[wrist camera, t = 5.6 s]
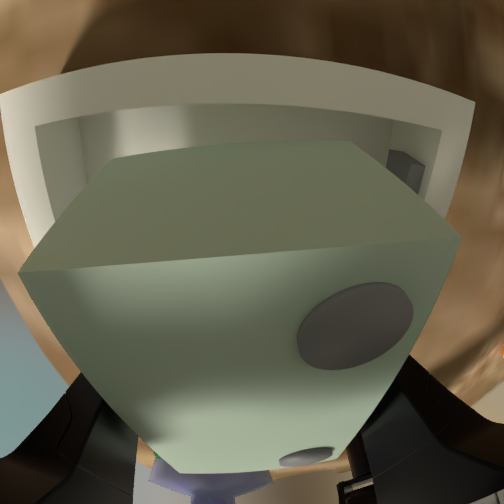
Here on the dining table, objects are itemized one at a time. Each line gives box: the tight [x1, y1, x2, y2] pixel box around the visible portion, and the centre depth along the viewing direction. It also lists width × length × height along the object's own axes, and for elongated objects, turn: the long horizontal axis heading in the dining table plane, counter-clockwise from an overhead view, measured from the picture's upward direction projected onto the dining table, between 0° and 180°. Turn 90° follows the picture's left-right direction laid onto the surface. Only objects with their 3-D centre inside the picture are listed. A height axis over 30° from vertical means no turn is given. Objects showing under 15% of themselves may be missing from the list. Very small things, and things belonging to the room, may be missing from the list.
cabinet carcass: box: [0, 53, 475, 248], centre depth 11 cm, size 14×13×4 cm
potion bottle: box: [149, 451, 274, 504], centre depth 16 cm, size 9×9×12 cm
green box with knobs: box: [18, 140, 462, 474], centre depth 8 cm, size 10×6×5 cm, turn 2°
